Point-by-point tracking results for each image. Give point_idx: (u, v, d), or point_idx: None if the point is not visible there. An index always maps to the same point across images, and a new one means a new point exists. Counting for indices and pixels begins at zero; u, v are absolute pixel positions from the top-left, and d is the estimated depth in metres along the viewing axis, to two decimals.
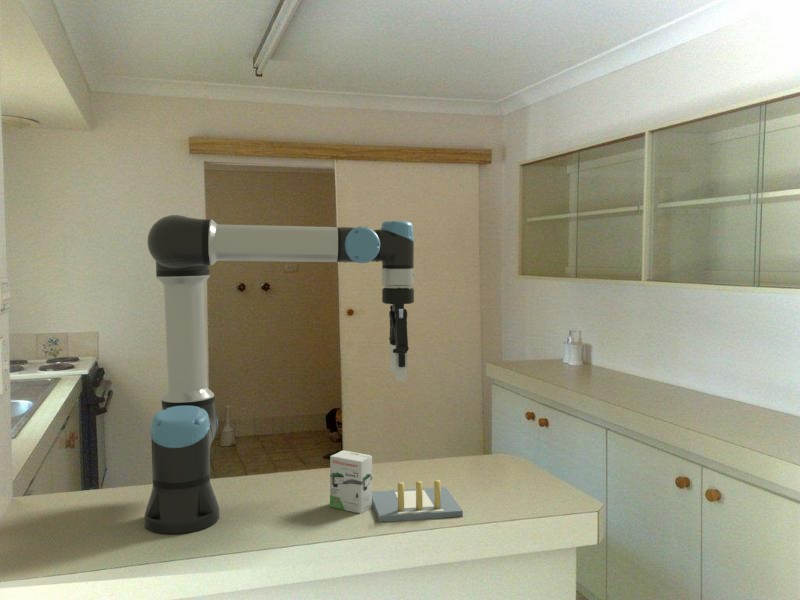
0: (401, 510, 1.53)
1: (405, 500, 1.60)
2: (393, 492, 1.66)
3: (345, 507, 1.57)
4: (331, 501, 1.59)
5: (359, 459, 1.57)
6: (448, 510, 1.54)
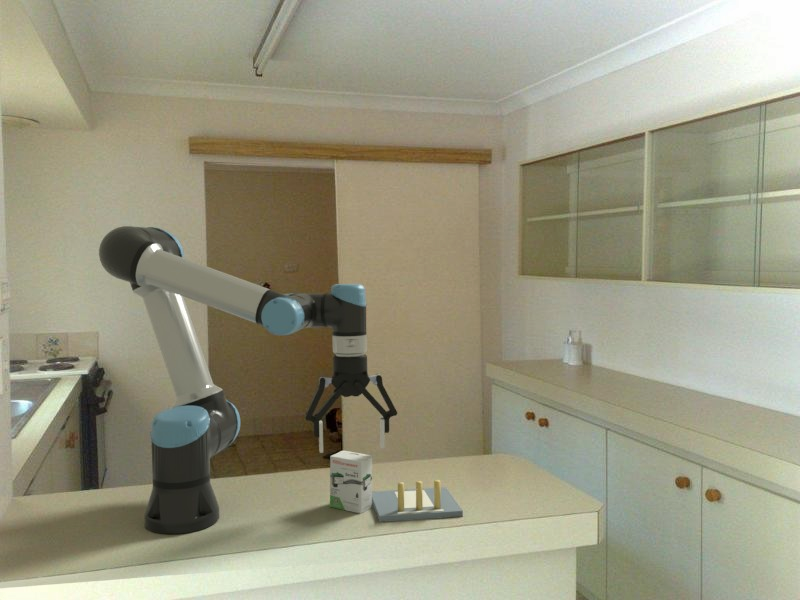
0: (401, 510, 1.53)
1: (405, 500, 1.60)
2: (393, 492, 1.66)
3: (345, 507, 1.57)
4: (331, 501, 1.59)
5: (359, 459, 1.57)
6: (448, 510, 1.54)
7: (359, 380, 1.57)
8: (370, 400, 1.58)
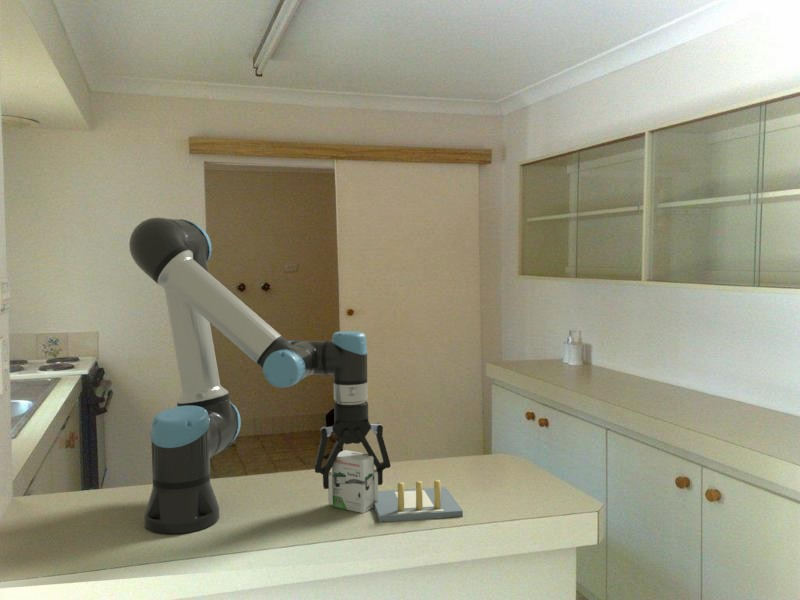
0: (401, 510, 1.53)
1: (405, 500, 1.60)
2: (393, 492, 1.66)
3: (348, 507, 1.58)
4: (333, 501, 1.59)
5: (361, 458, 1.57)
6: (448, 510, 1.54)
7: (360, 426, 1.58)
8: (367, 450, 1.58)
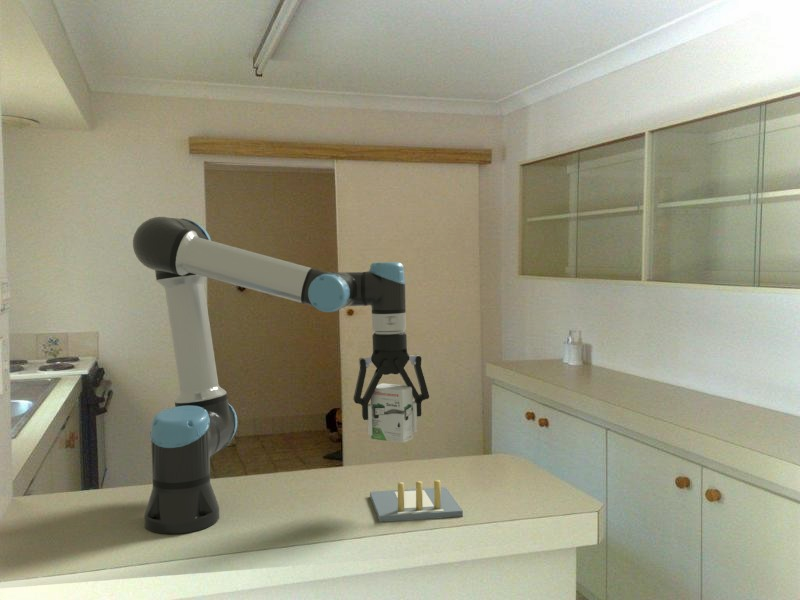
0: (401, 510, 1.53)
1: (405, 500, 1.60)
2: (393, 492, 1.66)
3: (387, 438, 1.57)
4: (372, 433, 1.59)
5: (400, 389, 1.56)
6: (448, 510, 1.54)
7: (399, 357, 1.58)
8: (406, 380, 1.58)
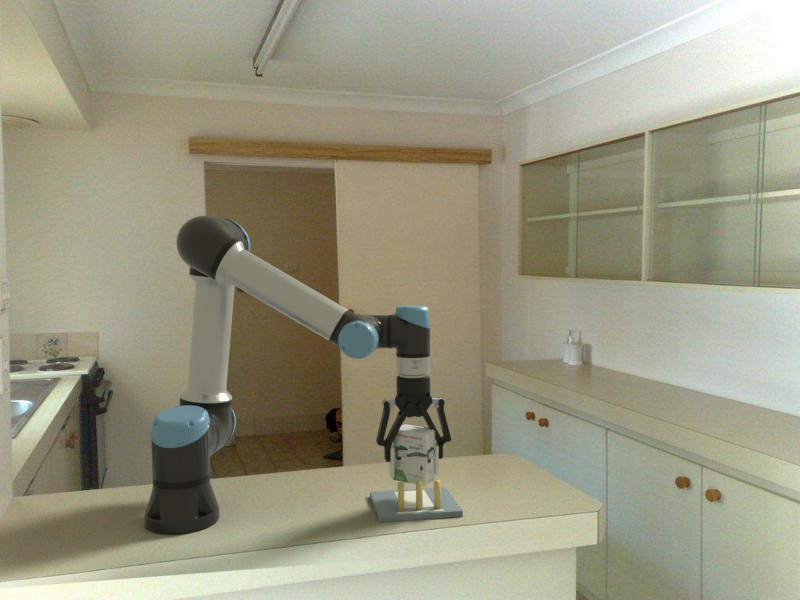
0: (401, 510, 1.53)
1: (405, 500, 1.60)
2: (393, 492, 1.66)
3: (409, 480, 1.58)
4: (394, 474, 1.60)
5: (423, 432, 1.58)
6: (448, 510, 1.54)
7: (422, 400, 1.59)
8: (429, 423, 1.59)
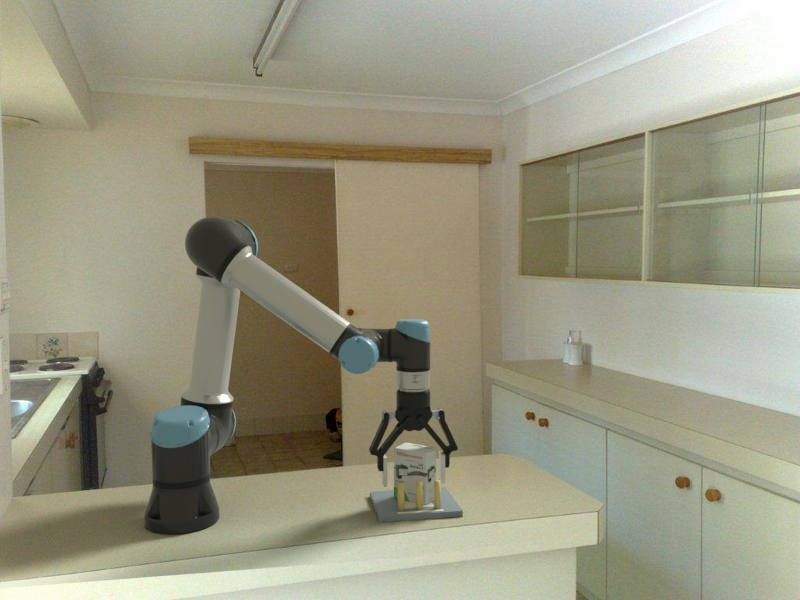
0: (401, 510, 1.53)
1: None
2: (393, 492, 1.66)
3: (410, 499, 1.59)
4: (395, 492, 1.61)
5: (423, 451, 1.58)
6: (448, 510, 1.54)
7: (422, 414, 1.59)
8: (432, 435, 1.60)
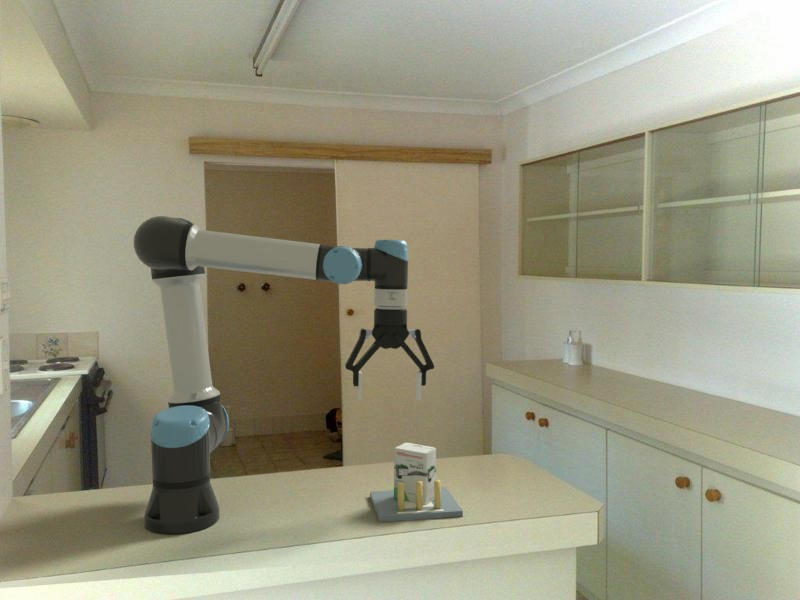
0: (401, 510, 1.53)
1: None
2: (393, 492, 1.66)
3: (410, 499, 1.59)
4: (395, 492, 1.61)
5: (423, 451, 1.58)
6: (448, 510, 1.54)
7: (399, 333, 1.62)
8: (408, 353, 1.63)
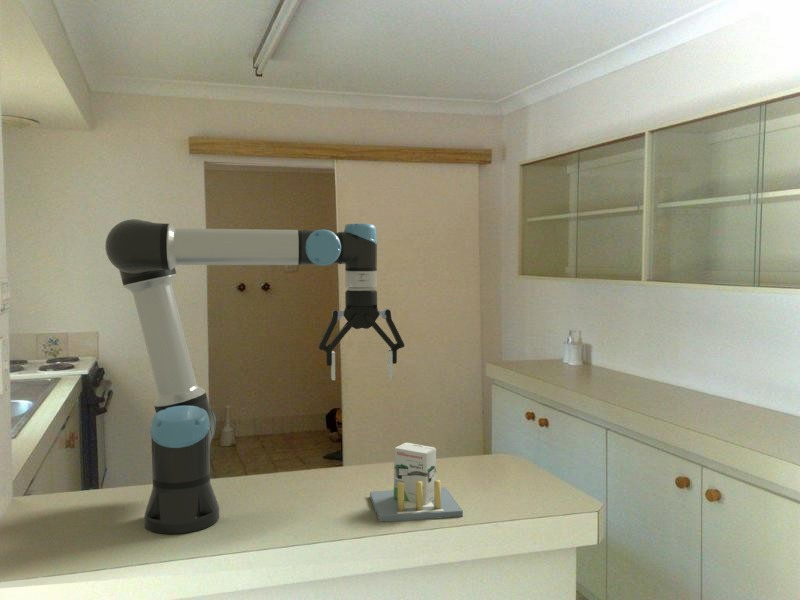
0: (401, 510, 1.53)
1: None
2: (393, 492, 1.66)
3: (410, 499, 1.59)
4: (395, 492, 1.61)
5: (423, 451, 1.58)
6: (448, 510, 1.54)
7: (369, 313, 1.69)
8: (379, 332, 1.69)
